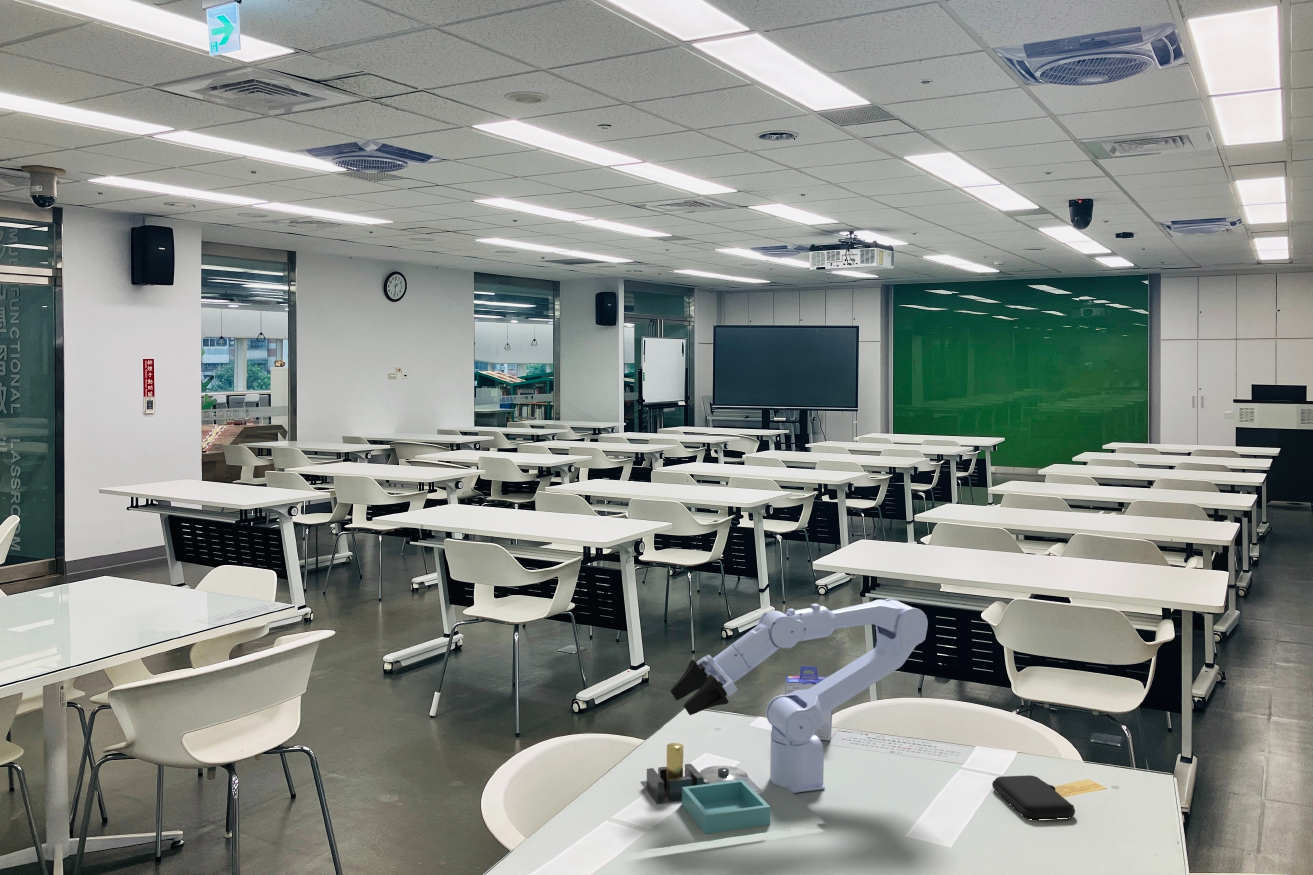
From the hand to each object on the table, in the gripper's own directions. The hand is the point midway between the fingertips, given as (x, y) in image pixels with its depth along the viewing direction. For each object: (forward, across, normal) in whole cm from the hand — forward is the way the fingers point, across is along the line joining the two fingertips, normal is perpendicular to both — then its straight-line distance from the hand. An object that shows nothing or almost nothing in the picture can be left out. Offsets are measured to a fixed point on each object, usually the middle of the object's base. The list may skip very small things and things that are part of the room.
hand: (679, 702), depth 172 cm
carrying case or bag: (-42, +20, +48) cm, 66 cm away
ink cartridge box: (-21, -21, +35) cm, 46 cm away
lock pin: (+9, -1, +14) cm, 16 cm away
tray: (+5, +11, +17) cm, 21 cm away
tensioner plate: (+6, -1, +17) cm, 18 cm away
